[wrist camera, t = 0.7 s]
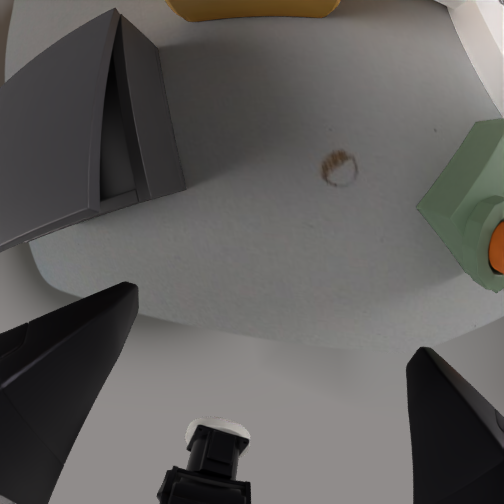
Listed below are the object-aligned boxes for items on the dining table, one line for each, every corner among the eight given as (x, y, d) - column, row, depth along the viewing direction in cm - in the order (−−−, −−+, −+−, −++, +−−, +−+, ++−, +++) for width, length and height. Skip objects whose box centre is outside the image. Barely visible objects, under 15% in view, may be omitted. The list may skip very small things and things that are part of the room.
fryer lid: (100, 213, 10) (88, 208, 9) (-25, 264, 11) (-34, 263, 10) (120, 14, 11) (115, 6, 10) (3, 93, 13) (-3, 89, 12)
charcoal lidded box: (186, 189, 21) (151, 198, 15) (74, 224, 22) (24, 243, 16) (157, 47, 18) (121, 13, 11) (52, 101, 19) (4, 92, 13)
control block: (457, 282, 22) (500, 315, 15) (406, 218, 21) (453, 239, 14) (517, 191, 19) (564, 202, 12) (475, 121, 17) (526, 115, 11)
